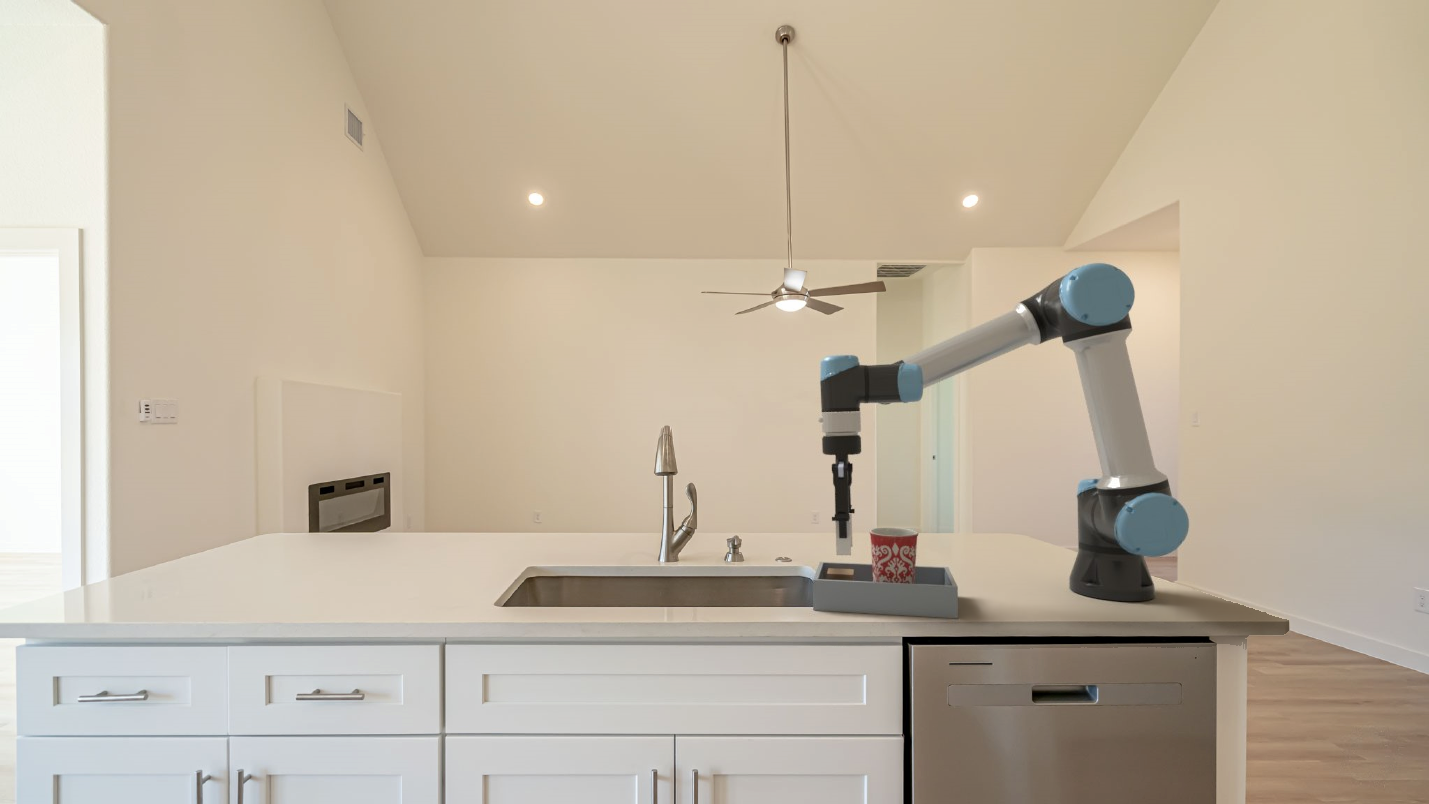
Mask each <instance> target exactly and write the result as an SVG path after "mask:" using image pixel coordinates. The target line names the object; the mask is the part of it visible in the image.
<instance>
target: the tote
mask: <svg viewBox="0 0 1429 804" xmlns="http://www.w3.org/2000/svg"><path fill="white" fill-rule="evenodd" d="M828 568H836V569H854V581H846V580H827V571H828ZM958 590H959V587H958V585H957V583H956V581H955V579H954V576H953V574H952V572H951V570H950V568H949V566H948V567H947V566H929V565H927V566H926V565H925V566H924V565H915V582H914V584H909V583H888V582H873V568H872V563H860V562H859V563H856V562H855V563H854V562H833V561H829V562H828V561H819V563H818V565H817V568H816V572H815V574H814V576H813V579H812V598H813V600H812V601H813V602H812V608H813V609H812V610H813V611H822V612H837V613H838V612H839V613H857V614H874V615H890V616H891V615H892V616H908V617H909V616H910V617H923V618H925V617H926V618H944V619H959V596H958V595H959V591H958Z"/></svg>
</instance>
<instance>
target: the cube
mask: <svg viewBox="0 0 1429 804" xmlns="http://www.w3.org/2000/svg"><path fill="white" fill-rule="evenodd" d="M827 580H846V581H854V569H836V568H828V571H827Z"/></svg>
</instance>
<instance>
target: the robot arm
mask: <svg viewBox="0 0 1429 804" xmlns="http://www.w3.org/2000/svg"><path fill="white" fill-rule="evenodd" d="M1135 294H1136V291H1135V287H1134V284H1133V282H1132V280H1131V278H1130V277H1129V276H1128V274H1126V273H1125V271H1123V270H1122V269H1121V268H1118V267H1117V266H1114V265H1112V264H1109V263H1104V262H1103V263H1102V262H1093V263H1088V264H1086V265H1084V264H1083V265H1081V266H1079V267H1078V266H1077V267H1075V268H1073V269H1071V270H1070V271H1069V272H1068V273H1067V274H1066V273H1065V275H1063V276H1061V277H1059V278H1057V279H1055V280H1054V281H1053V282H1051V283H1050V284H1049V285H1047V286H1046V287H1044V288H1043V289H1041V290H1039V291H1038V292H1036V293H1035V294H1033V295H1032V296H1030V297H1028V298H1026V299H1023V300H1021V301H1019V302H1018V303H1016V304H1015V305H1014V308H1013V310H1011V311H1009V312H1007V313H1003V314H1002V315H1000V316H997V317H995V318H992V319H990V320H988V321H986V322H984V323H981V324H979V325H977V326H975V327H973V328H970V329H968V330H965V331H963V332H961V333H959V334H956V335H954V336H952V337H950V338H948V339H945V340H943V341H940V342H939V343H936V344H934V345H932V346H930V347H927V348H925V349H922V350H920V351H918V352H916V353H914V354H911V355H909V356H907V357H905V358H903V359H900V360H897V361H895V362H893V363H891V364H887V363H886V364H870V365H869V364H868V365H867V364H860V362H859V358H858V356H857V355H854V354H851V355H850V354H840V355H838V354H836V355H828V356H825V357H823V358H822V360H821V361H820V372H819V373H820V376H819V377H820V379H819V381H820V382H819V383H820V384H819V385H820V386H819V387H820V403H821V404H820V405H821V416H822V417H819V418H818V423H822V424H821V431H822V433H823V434H824V435H823V436H822V437H821V441H822V442H821V446H822V447H821V448H822V454H823V455H826V456H835V462H834V463H832V464H831V473H832V485H833V486H834V511H835V512H834V516H831V522H835V545H836V546H835V548H836V551H835V552H836V556H852V548H853V524H852V523H853V521H852V520H853V517H852V516H853V515H852V514H855V512H856V511H855V508H853V507H852V506H853V505H852V503H851V502H852V496H851V495H852V494H851V486H852V484H853V476H852V475H853V471H854V470H853V469H854V468H853V466H854V465H853V463H850V461H849V456H850V455H852V456H853V455H860V454H861V453H862V437H861V436H860V435H859V433H860V432H862V424H861V423H862V422H861V421H862V419H861V415H862V414H861V408H860V406H861V404H880V405H883V406H884V405H886V406H887V405H890V404H893V403H894V404H895V403H897V404H898V403H903V404H908V403H911V402H912V403H914V402H919V401H921V399H922V398H923V394H924V389H926V388H929V387H931V386H933V385H935V384H938V383H940V382H942V381H944V380H948V379H949V378H952V377H954V376H956V375H958V374H961V373H964V372H966V371H968V370H970V369H973V368H975V367H977V366H980V365H983V364H984V363H987V362H989V361H991V360H993V359H996V358H998V357H1000V356H1003V355H1005V354H1008V353H1010V352H1012V351H1015V350H1017V349H1019V348H1021V347H1023V346H1026V345H1028V344H1031V345H1033V346H1038V345H1041V344H1043V343H1045V342H1049V341H1051V340H1055V339H1058V338H1061V339H1062V343H1063V346H1065V347H1066V348H1068V349H1070V350H1072V351H1073V352H1074V356H1075V360H1076V365H1077V370H1078V374H1079V378H1080V382H1081V386H1082V391H1083V395H1084V399H1085V400H1084V401H1085V403H1086V407H1087V413H1088V416H1089V417H1088V418H1089V420H1090V421H1089V422H1090V427H1091V430H1092V433H1093V438H1094V443H1095V447H1096V451H1097V456H1098V459H1099V464H1100V469H1101V473H1102V477H1101V478H1084V479H1082V480H1080V481H1079V482H1078V485H1077V493H1076V499H1077V533H1078V537H1077V538H1078V539H1077V541H1078V542H1077V544H1078V548H1077V549H1078V550H1077V554H1076V557H1075V559H1074V560H1075V561H1074V563H1073V566H1072V569H1071V571H1070V575H1069V579H1068V581H1069V583H1068V584H1069V585H1068V587H1069V590H1071V591H1072V592H1074V593H1076V594H1079V595H1083V596H1086V597H1091V598H1094V599H1095V598H1096V599H1101V600H1107V601H1108V600H1109V601H1117V602H1118V601H1121V602H1143V601H1149V600H1152V599H1154V598H1156V597H1155V596H1156V595H1155V594H1156V593H1155V584H1154V580H1153V578H1152V575H1151V573H1150V569H1149V568H1148V565H1147V561H1146V560H1145V557H1147V558H1157V557H1159V558H1160V557H1163V556H1167V555H1170V554H1171V553H1173V552H1174V551H1176V550H1177V549H1178V548H1180V546H1181V545H1182V543H1183V542H1184V541H1185V540H1186V538H1187V536H1188V533H1189V530H1190V519H1189V515H1188V513H1187V511H1186V509H1185V507H1184V506H1183V505H1182V504H1181V503H1180V502H1179V501H1178V500H1177V499H1176V498H1174V497H1173V495H1172V490H1171V486H1170V483H1169V482H1170V481H1169V479H1168V476H1167V475H1166V474H1165V473H1163V472H1162V471H1159V470H1158V469H1157V468H1156V466H1155V462H1154V461H1155V460H1154V458H1153V453H1152V449H1151V445H1150V440H1149V436H1148V432H1147V428H1146V423H1145V420H1144V416H1143V415H1144V414H1143V411H1142V410H1143V409H1142V407H1141V402H1140V398H1139V393H1138V390H1137V389H1138V388H1137V386H1136V381H1135V377H1134V371H1133V369H1132V364H1131V360H1130V356H1129V351H1128V347H1127V343H1126V342H1127V341H1126V340H1127V339H1128V338H1129V336H1130V334H1131V333H1132V331H1133V327H1132V322H1131V318H1130V317H1131V316H1130V314H1129V313H1130V311H1131V310H1132V307H1133V305H1134V302H1135V298H1136V295H1135Z"/></svg>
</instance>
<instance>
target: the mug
mask: <svg viewBox="0 0 1429 804" xmlns="http://www.w3.org/2000/svg"><path fill="white" fill-rule="evenodd" d="M869 534H870V548H871V549H870V550H871V564H872V568H873V582H888V583H909V584H914V582H915V566H916V561H917V544H918V543H917V542H918V536H919V532H918V531H916V530H913V529H910V528H909V529H908V528H904V527H903V528H902V527H877V528H872V529H870V530H869Z"/></svg>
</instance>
